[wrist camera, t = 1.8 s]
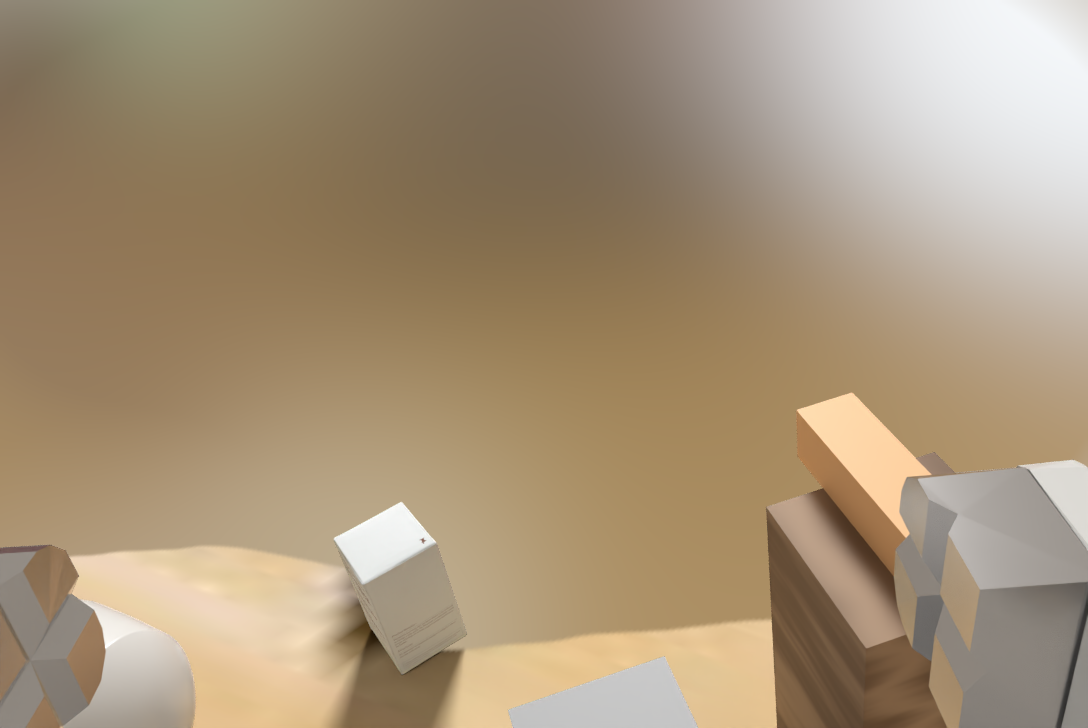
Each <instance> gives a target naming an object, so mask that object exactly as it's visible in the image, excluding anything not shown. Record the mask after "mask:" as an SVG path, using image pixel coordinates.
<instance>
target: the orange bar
mask: <svg viewBox="0 0 1088 728" xmlns="http://www.w3.org/2000/svg"><path fill="white" fill-rule="evenodd" d="M796 414H797V453H798V454H797V456H798V457H799V459H800V460H801V461H802V462H803V464H804V465H805V466H806V467H807V469H808V470H809V471H810V472H811V474H812V475H813V476H814V477H815V479H816V480H817V481H818V482H819V484H820V485H821V486H822V487H823V489H824V490H825V491H826V492H827V494H828V495H829V496H830V497H831V499H832V500H833V501H834V502H835V504H836V505H837V506H838V507H839V509H840V510H841V511H842V512H843V514H844V515H845V516H846V517H847V519H848V520H849V521H850V522H851V524H852V525H853V526H854V527H855V529H856V530H857V531H858V532H859V534H860V535H861V536H862V537H863V539H864V540H865V541H866V542H867V544H868V545H869V546H870V547H871V549H872V550H873V551H874V552H875V554H876V555H877V556H878V557H879V559H880V560H881V561H882V562H883V564H884V565H885V566H886V567H887V569H888V570H889V571H890V572H891V574H892V575H893V576H894V567H895V550H896V548H897V547H898V546H899V545H900V544H901V543H902V542H903V541H904V540H905V539H906V538H907V536H908V535H909V534H910V533H909V531H908V529H907V527H906V525H905V523H904V521H903V519H902V517H901V515H900V513H899V508H900V499H901V490H902V488H903V485H904V482H905V480H906V477H912V476H924V475H931V474H930V472H929V471H928V470H927V469H926V468H925V467H924V466H923V465H922V464H921V463H920V462H919V461H918V460H917V459H916V458H915V457H914V456H913V455H912V454H911V453H910V452H909V451H908V450H907V449H906V448H905V447H904V446H903V445H902V444H901V443H900V442H899V441H898V440H897V438H896V437H895V436H894V435H893V434H892V433H891V432H890V431H889V430H888V429H887V428H886V427H885V426H884V425H883V424H882V423H881V422H880V421H879V420H878V419H877V418H876V417H875V416H874V415H873V414H872V413H871V412H870V411H869V410H868V409H867V408H866V406H865V405H864V404H863V403H862V402H861V401H860V400H859V399H858V398H857V397H856V396H855V395H854V394H853V393H849V394H846V395H843V396H840V397H837V398H834V399H830V400H827V401H824V402H821V403H817V404H814V405H811V406H808V407H805V408H802V409H798V410H797V412H796Z"/></svg>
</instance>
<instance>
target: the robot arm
mask: <svg viewBox="0 0 1088 728" xmlns="http://www.w3.org/2000/svg"><path fill="white" fill-rule="evenodd" d="M899 513H900V515H901V517H902V519H903V521H904V523H905V525H906V527H907V529H908V531H909V533H910V534H909V535H908V536H907V538H906V539H905V540H904V541H903V542H902V543H901V544H900V545H899V546H898V547H897V548H896V550H895V567H894V582H895V591H896V600H897V607H898V610H899V614H900V617H901V621H902V624H903V628H904V630H905V632H906V635H907V637H908V640H909V642H910V644H911V647H912V649H914V650H915V651H917V652H918V653H920V654H921V655H923V656H924V657H925V658H927V659H928V660H930V661H931V671H930V680H929V688H930V690H931V693H932V695H933V697H934V699H935V702H936V704H937V706H938V708H939V710H940V713H941V715H942V717H943V719H944V722H945V724H946V726H947V728H1088V468H1087V467H1086V466H1085V465H1083V464H1081V463H1079V462H1077V461H1075V460H1068V461H1058V462H1048V463H1040V464H1030V465H1020V466H1017V467H1016V468H1007V469H995V470H983V471H971V472H959V473H947V474H935V475H924V476H912V477H906V480H905V482H904V485H903V488H902V490H901V499H900V508H899ZM78 577H79V575H78V573H77V571H76V569H75V567H74V565H73V563H72V562H71V560H70V558H69V556H68V554H67V552H66V550H63V549H61V548H58V547H55V546H52V545H38V546H21V547H3V548H0V728H193V724H194V719H195V709H196V693H195V682H194V678H193V673H192V669H191V666H190V663H189V660H188V657H187V655H186V653H185V652H184V650H183V648H182V647H181V646H180V644H179V643H178V642H177V641H176V640H175V639H174V638H173V637H171V636H170V635H168V634H166V633H165V632H163V631H160V630H158V629H156V628H154V627H152V626H150V625H148V624H146V623H144V622H142V621H140V620H138V619H136V618H133V617H131V616H129V615H127V614H124V613H122V612H120V611H117V610H115V609H112V608H110V607H107V606H105V605H103V604H100V603H96V602H93V601H88V600H82V599H78V598H77V597H75V596H74V595H72V592H73V589H74V587H75V585H76V582H77V580H78Z"/></svg>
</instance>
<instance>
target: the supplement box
mask: <svg viewBox="0 0 1088 728" xmlns="http://www.w3.org/2000/svg"><path fill="white" fill-rule="evenodd" d="M334 542H335V545H336V547H337V549H338V552H339V554H340V556H341V559H342V561H343V563H344V566H345V568H346V570H347V573H348V575H349V577H350V579H351V582H352V584H353V586H354V589H355V591H356V594H357V596H358V599H359V601H360V604H361V606H362V609H363V611H364V614H365V616H366V619H367V621H368V623H369V625H370V627H371V629H372V630H373V632H374V633H375V635H376V636H377V638H378V639H379V641H380V642H381V644H382V646H383V647H384V649H385V650H386V652H387V653H388V655H389V656H390V658H391V659H392V661H393V662H394V664H395V666H396V667H397V669H398V670H399V672H400V673H401V674H402V675H403V674H405V673H406V672H408V671H409V670H411V669H413V668H414V667H416V666H417V665H419V664H421V663H422V662H424V661H426V660H427V659H429V658H430V657H432V656H434V655H435V654H437V653H438V652H440V651H442V650H443V649H445V648H447V647H448V646H450V645H451V644H453V643H455V642H456V641H458V640H460V639H461V638H463V637H465V636H466V635H467V632H466V629H465V626H464V623H463V620H462V617H461V614H460V611H459V608H458V605H457V602H456V599H455V596H454V593H453V590H452V587H451V584H450V581H449V578H448V575H447V573H446V569H445V566H444V563H443V561H442V557H441V555H440V551H439V548H438V545H437V543H436V542H435V541H434V539H433V538H432V537H431V536H430V535H429V534H428V532H427V531H426V530H425V529H424V528H423V527H422V525H421V524H420V523H419V522H418V521H417V520H416V519H415V517H414V516H413V515H412V514H411V512H410V511H409V510H408V509H407V507H406V506H405V505H404V504H403V503H402V502H400V503H398V504H396V505H394V506H393V507H391V508H389V509H387V510H385V511H384V512H382V513H380V514H378V515H376V516H374V517H373V518H371V519H369V520H367V521H365V522H363V523H362V524H360V525H358V526H356V527H354V528H352V529H351V530H349V531H347V532H345V533H343V534H341V535H339V536H337V537H335V538H334Z"/></svg>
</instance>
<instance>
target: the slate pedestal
mask: <svg viewBox="0 0 1088 728" xmlns="http://www.w3.org/2000/svg"><path fill="white" fill-rule="evenodd" d="M508 712H509V715H510V719H511V722H512V726H513V728H698V726H697V724H696V722H695V720H694V718H693V716H692V713H691V711H690V709H689V707H688V705H687V703H686V701H685V699H684V697H683V694H682V692H681V690H680V688H679V686H678V684H677V682H676V680H675V678H674V675H673V673H672V671H671V669H670V667H669V665H668V663H667V661H666V659H665V656H664V657H661V658H658V659H655V660H652V661H649V662H646V663H643V664H641V665H638V666H635V667H632V668H629V669H626V670H623V671H620V672H617V673H614V674H611V675H608V676H605V677H603V678H600V679H597V680H594V681H591V682H588V683H585V684H582V685H579V686H576V687H573V688H570V689H567V690H565V691H562V692H559V693H556V694H553V695H550V696H547V697H544V698H541V699H538V700H535V701H532V702H530V703H527V704H524V705H521V706H518V707H515V708H512V709H509V710H508Z"/></svg>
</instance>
